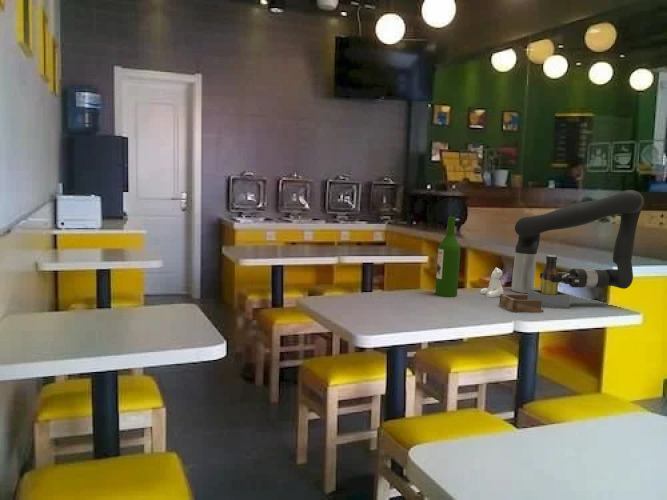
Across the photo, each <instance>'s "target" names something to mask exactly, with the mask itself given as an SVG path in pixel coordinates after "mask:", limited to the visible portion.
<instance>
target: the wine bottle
mask: <svg viewBox="0 0 667 500" xmlns="http://www.w3.org/2000/svg"><path fill="white" fill-rule="evenodd" d="M455 224H456V216H448V217H447V226H446V235H445V237H444V238H443V239H442V241H441V242H440V243H439V244H438V245H439V246H438V248H437V250H438V251H437V264H436V276H435V277H436V279H435V289H434V290H435V292H434V293H435V295H436V296H438V297H443V298H444V297H446V298H455V297H457V296H458V287H459V285H458V284H459V274H460V260H461V259H460V258H461V247H460V246H461V245H460V244H459V242H458V240H457V238H456V236H455V231H456V230H455V229H456V225H455Z"/></svg>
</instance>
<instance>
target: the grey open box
mask: <svg viewBox="0 0 667 500" xmlns="http://www.w3.org/2000/svg"><path fill="white" fill-rule="evenodd" d="M527 295H528V299H527V300H541V301H542V304H541V307H551V308H550V309H569V308H570V303H571V295H570V294H567V293H565V292H562V291H560V290H558V291H557V295H543V294H541V289H534V290H528V293H527ZM552 307H553V308H552Z"/></svg>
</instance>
